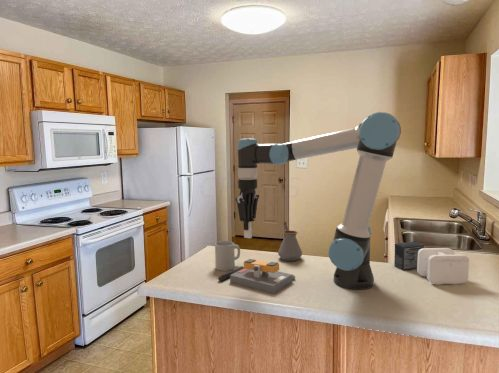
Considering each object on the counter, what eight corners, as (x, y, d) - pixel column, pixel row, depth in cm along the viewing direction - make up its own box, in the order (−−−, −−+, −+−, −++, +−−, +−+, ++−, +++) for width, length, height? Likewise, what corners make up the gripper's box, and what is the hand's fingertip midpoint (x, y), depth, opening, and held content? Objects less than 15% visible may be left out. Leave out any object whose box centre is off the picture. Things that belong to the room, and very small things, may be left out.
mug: (221, 272, 154) (221, 247, 153) (212, 266, 161) (211, 242, 160) (245, 266, 161) (244, 242, 160) (234, 261, 168) (234, 238, 167)
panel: (292, 281, 143) (292, 263, 142) (273, 293, 131) (273, 274, 131) (250, 272, 154) (250, 254, 153) (230, 282, 143) (229, 263, 142)
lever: (279, 270, 140) (278, 262, 140) (273, 273, 137) (273, 265, 136) (249, 265, 148) (249, 258, 148) (243, 268, 145) (243, 261, 144)
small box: (413, 263, 163) (414, 240, 162) (424, 268, 157) (425, 244, 155) (393, 266, 160) (394, 242, 159) (403, 271, 154) (404, 246, 152)
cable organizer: (452, 275, 148) (454, 247, 147) (468, 285, 138) (470, 255, 136) (416, 275, 148) (417, 248, 147) (429, 286, 137) (431, 256, 136)
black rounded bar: (244, 270, 156) (244, 266, 156) (221, 282, 143) (221, 277, 143) (241, 269, 157) (241, 265, 157) (217, 281, 144) (217, 276, 144)
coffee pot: (304, 262, 166) (304, 230, 165) (279, 263, 166) (279, 230, 164) (295, 248, 188) (295, 220, 186) (273, 249, 187) (273, 221, 185)
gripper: (249, 176, 149) (249, 232, 152) (229, 179, 138) (230, 239, 141) (264, 177, 145) (264, 235, 148) (245, 180, 134) (246, 242, 137)
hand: (247, 237), depth 144 cm, fingers closed
